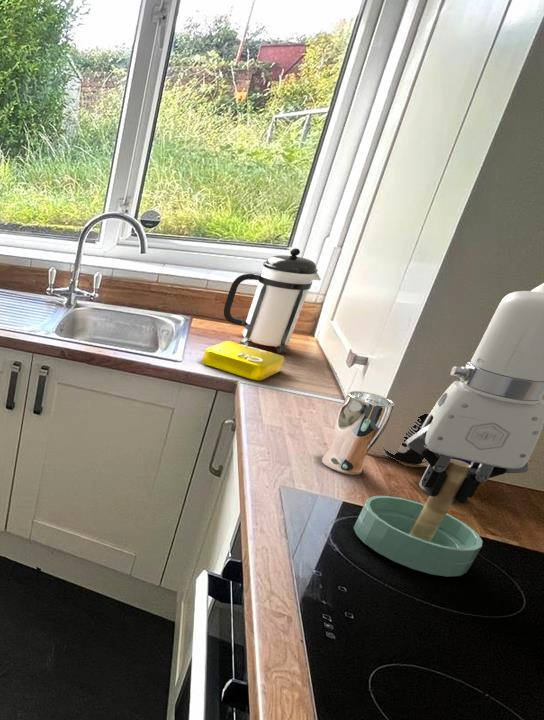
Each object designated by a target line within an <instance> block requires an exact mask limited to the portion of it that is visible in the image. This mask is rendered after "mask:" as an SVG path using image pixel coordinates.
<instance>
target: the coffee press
mask: <svg viewBox="0 0 544 720" xmlns="http://www.w3.org/2000/svg"><path fill="white" fill-rule="evenodd" d="M289 254H290V255H285V254H282V255H281V254H280V255H279V254H278V255H273V256H270V257H268V258H267V259H266V261H264V262H262V263H263V264H262V267H263V268H262V272H261V274H255V273H243V274H241V275H239V276H238V277H236V278H235V279H234V280H233V281H232V283H231V285H230V288H229V291H228V294H227V297H226V301H225V303H224V307H223V316H224V318H225V320H226V321H227V322H229V323H231V324H234V325H237V326H241V327H243V330H242V332H241V333H242V336H241V337H242V339H241V341H240V342H239V344H243V345H246V346H249V345H250V344H252V343H254V344H257V345H261V346H267V347H274V348H275V349H276V352H277V354H286V351H287V348H286V345H288V344H289V343H290V341H291V338H292V336H293V333H294V331H295V328H296V325H297V322H298V320H299V317H300V314H301V311H302V309H303V307H304V303H305V301H306V299H307V298H306V297H307V295H308V292H309V290H310V289H311V288H312V285H313V281H321V280H322V279H321V277H320V274H319V273H318V269H317V264H316V263H315V262H314V261H313V260H311V259H309V258H306V257H300V256H299V255H300V254H301V250H300V249H299V248H296V247H295V248H292V249H291V250H290V252H289ZM252 280H254V281H258V284H257V287H256V289H255V293H254V295H253V296H254V297H253V299H252V301H251V305H250V308H249V311H248V314H247V316H246V319H240V318H237V317H234V316H233V315H232V314H231V309H232V305H233V303H234V300H235V296H236V293H237V290H238V287H239V285H240V284H241V283H243V282H244V281H252Z"/></svg>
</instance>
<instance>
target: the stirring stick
mask: <svg viewBox="0 0 544 720" xmlns="http://www.w3.org/2000/svg"><path fill="white" fill-rule="evenodd" d="M470 469H471V465H469V464H468V463H466V462H463V461H460V460H456V459H451V461H450V462H449V464H448V466H447V467H446V470H445V473H446V474H447V478H446V480H445V481H444V483H443V485H442V487H441V489H440V491H439V493H438V495H437V496H435V497H433V496H429V495H428V498H427V499H426V502H425V504H424V507H423V509H422V511H421V513H420V515H419V517H418V519H417V521H416V522H415V524H414V526H413V528H412V530H411V532H410V534H409V535H412V536H414V537H417V538H419V539H422V540H425V541H428V542H431V541H432V539H433V537H434V535H435V533H436V532H437V530H438V528H439V526H440V524H441V522H442V521H443V519H444V517H445V515H446V513H447V514H448V512H449V510H450V508H451V506H452V504H453V503H454V501H455V499H454V498H455V497H456V495H457V493H458V491H459V489H460V487H461V486H462V484H463V482H464V480H465V478H466V476H467V475H468V473H469V471H470Z"/></svg>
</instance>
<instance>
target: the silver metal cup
mask: <svg viewBox="0 0 544 720" xmlns="http://www.w3.org/2000/svg"><path fill="white" fill-rule="evenodd" d="M394 406H395V402H394V401H392V400H391V399H390V398H387V397H385V396H383V395H380V394H376V393H372V392H368V391H363V390H361V391H360V390H351V391H349V392H348V394H347V396H346V398H345V399H344V401H343V403H342V405H341V407H340V409H339V411H338V414H337V416H336V419H335V424H334V429H333V435H332V440H331V444H330V445H329V449H328V450H327V451H326V453H324V455H323V457H322V458H321V463H323V465H325V466H326V467H327V468H329V469H331V470H334V471H336V472H338V473H342V474H345V475H353V476H354V475H355V476H356V475H361V473H362V472H363V471H362V470H363V468H364V467H363V466H364V462H365V458H366V456H367V455H368V452H370V450H371V448H372V447H373V446H374V445H375V444H376V442H377V441H378V440H379V439H380V437H381V436H382V434H383V433H384V431H385V430H386V427H387V425H388V423H389V420H390V418H391V415H392V412H393V410H394V409H393V408H394Z"/></svg>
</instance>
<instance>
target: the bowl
mask: <svg viewBox="0 0 544 720" xmlns="http://www.w3.org/2000/svg"><path fill="white" fill-rule="evenodd" d="M424 505H425V504H424V503H422V502H419V501H415V500H412V499H408V498H403V497H398V496H390V495H373V496H371V497H368V498H366V500H365V502H364V504H363V506H362V508H361V510H360V513H359V514H358V517H357V519H356V521H355V523H354V525H353V531H354V532H355V535H356V536H357V537H358V539H360V541H361V542H363V544H364V545H366V546H368V547H369V548H370V549H371V550H373V551H374V552H375V553H377V554H379V555H381V556H383V557H385V558H387V559H388V560H390V561H392V562H394V563H397V564H400V565H401V566H404V567H407V568H409V569H411V570H414V571H418V572H422V573H425V574H429V575H434V576H441V577H445V578H446V577H449V578H450V577H461V576H463V575H464V574H467V573H468V570H469V569H470V568H471V566H472V564H473V563H474V560H475V559H476V558H477V555H478V554H479V552H480V551H481V549H482V547H483V539H482V538H481V536H480V534H478V532H477V531H476V530H474V529H473V528H472V527H470V526H469V525H468V524H467V523H465V522H464V521H462V520H459V519H458V518H457V517H454V516H452V514H449V513H448V512H447V513H446V515H445V517H444V519H443V521H442V522H441V524H440V526H439V528H438V530H437V532H436V533H435V535H434V537H433V539H432V541H431V542H428V541H425V540H422V539H419V538H417V537H414V536H412V535H409V534H410V532H411V530H412V528H413V526H414V524H415V522H416V521H417V519H418V517H419V515H420V513H421V511H422V509H423V507H424Z"/></svg>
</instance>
